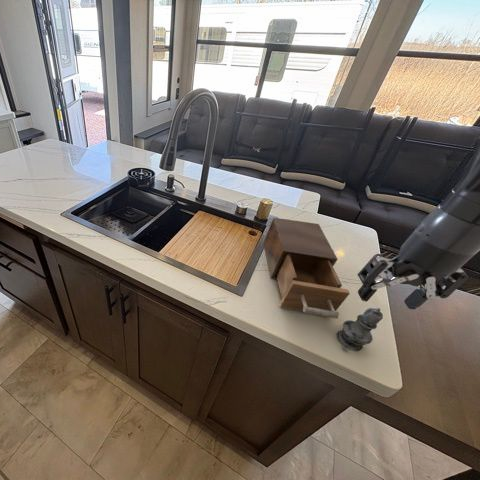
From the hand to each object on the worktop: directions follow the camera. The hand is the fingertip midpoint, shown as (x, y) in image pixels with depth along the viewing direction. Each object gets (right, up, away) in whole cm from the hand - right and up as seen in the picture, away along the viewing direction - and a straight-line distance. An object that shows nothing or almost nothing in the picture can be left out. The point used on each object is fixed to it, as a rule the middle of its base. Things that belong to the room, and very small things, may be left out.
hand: (385, 301), depth 50 cm
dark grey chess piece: (-1, -11, +9) cm, 14 cm away
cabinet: (-5, +5, +29) cm, 30 cm away
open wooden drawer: (-7, -3, +17) cm, 19 cm away
